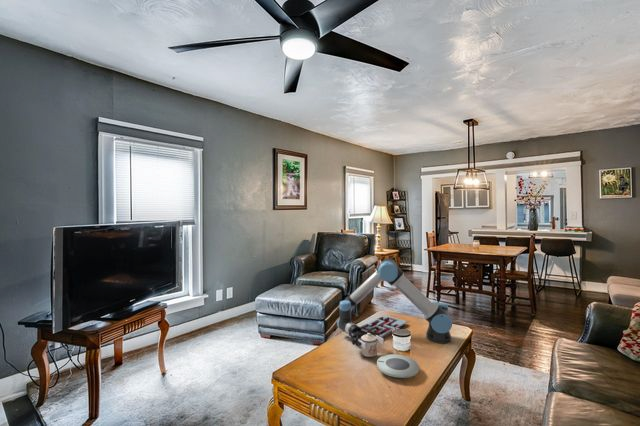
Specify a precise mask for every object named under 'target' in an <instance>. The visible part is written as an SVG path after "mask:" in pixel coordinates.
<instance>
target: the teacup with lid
mask: <svg viewBox="0 0 640 426" xmlns="http://www.w3.org/2000/svg"><path fill="white" fill-rule="evenodd" d="M360 340H361V341H362V342H364V343H365V344H366V349H364V348H363V347H361V346H360V347H361V348H360V349H361V355H362V356H365V357H368V358H369V357H370V358H373V357H375V356H377V353H378V352H377V351H378V350H377V349H378V347H377V345H378V342H379V341H378V340H377V338H376V337H375V336H374V335H371V334H370V333H367V334H366V335H363V336H362V337H361V338H360Z"/></svg>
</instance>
